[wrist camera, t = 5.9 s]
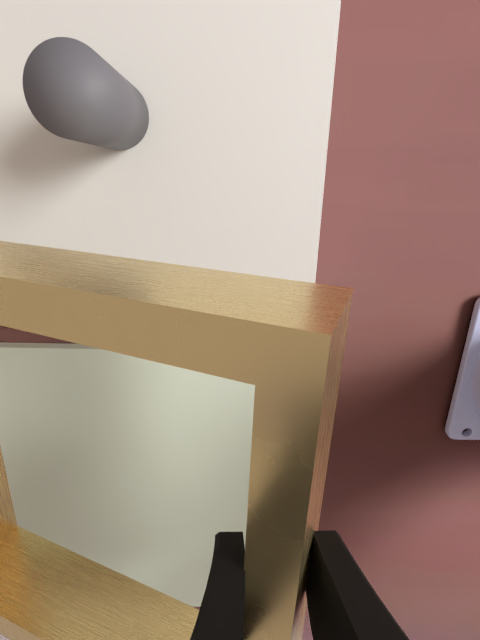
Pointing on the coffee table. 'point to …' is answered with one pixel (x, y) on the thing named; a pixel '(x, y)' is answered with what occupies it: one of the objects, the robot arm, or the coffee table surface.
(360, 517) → the coffee table surface
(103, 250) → the post stand
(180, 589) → the mat
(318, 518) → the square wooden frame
